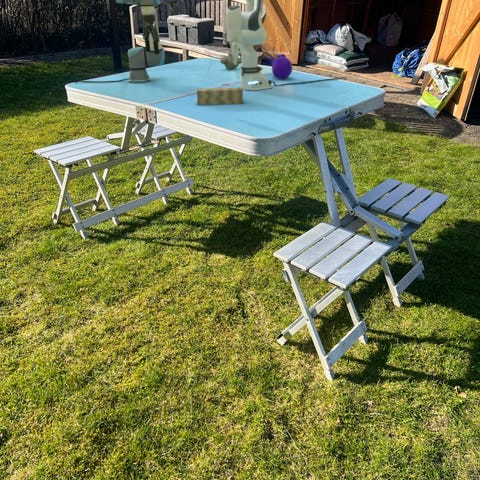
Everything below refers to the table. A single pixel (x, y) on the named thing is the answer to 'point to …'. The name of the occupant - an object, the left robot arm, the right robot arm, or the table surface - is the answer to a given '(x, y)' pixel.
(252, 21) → the right robot arm
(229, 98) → the bar
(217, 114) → the table surface
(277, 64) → the toy
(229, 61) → the teapot
